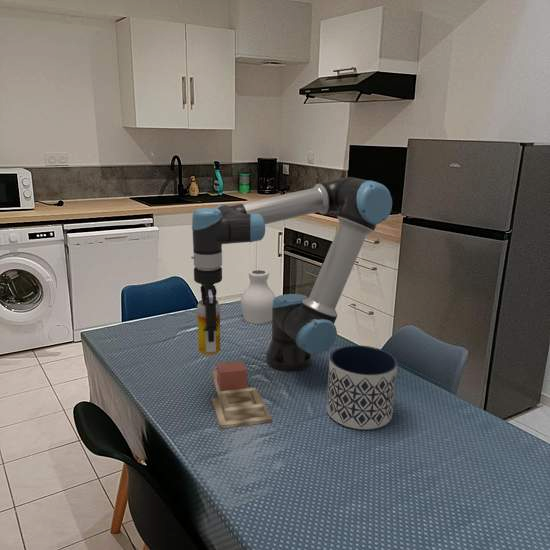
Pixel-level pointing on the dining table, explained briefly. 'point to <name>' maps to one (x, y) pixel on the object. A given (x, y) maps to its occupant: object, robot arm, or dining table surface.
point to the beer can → (202, 326)
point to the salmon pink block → (231, 376)
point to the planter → (361, 386)
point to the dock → (239, 406)
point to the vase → (257, 299)
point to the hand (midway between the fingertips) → (209, 345)
